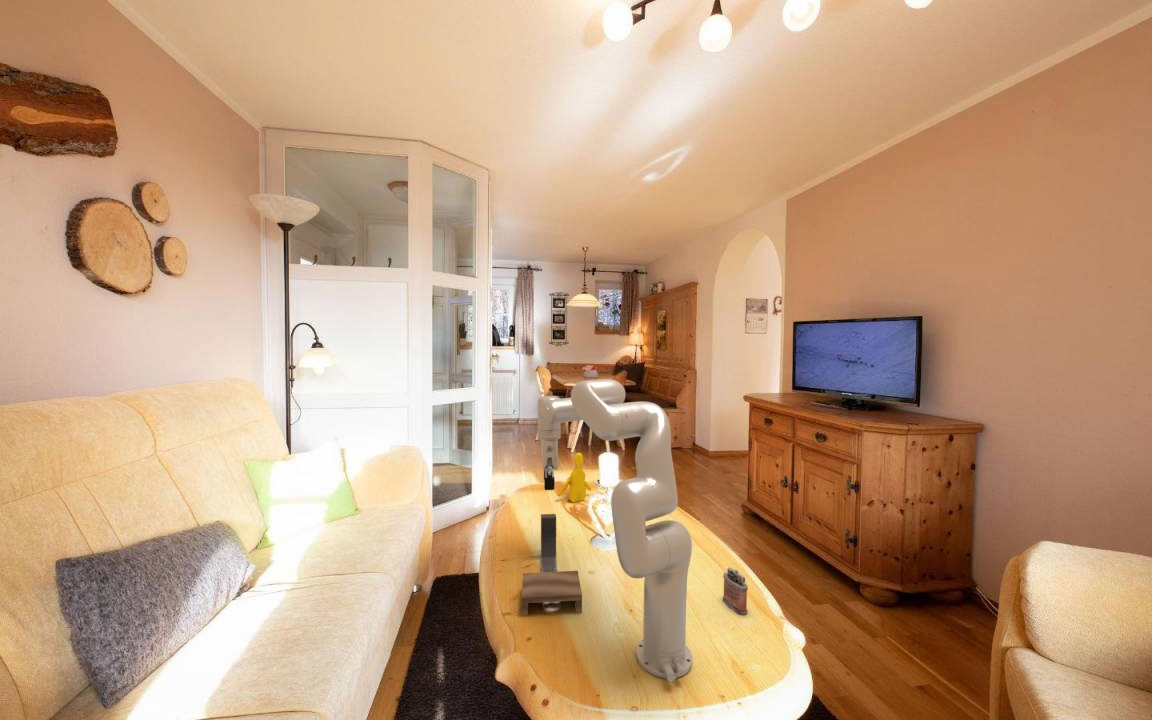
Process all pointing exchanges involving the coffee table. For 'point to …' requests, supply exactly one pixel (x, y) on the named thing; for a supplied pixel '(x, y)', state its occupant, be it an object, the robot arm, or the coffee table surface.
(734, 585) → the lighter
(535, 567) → the coffee table surface
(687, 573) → the robot arm
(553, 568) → the pusher tool
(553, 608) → the steel token
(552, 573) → the low table
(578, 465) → the figure statuette
